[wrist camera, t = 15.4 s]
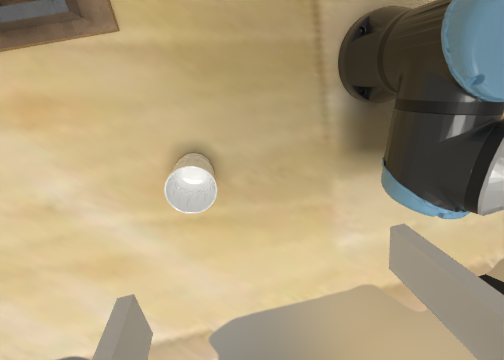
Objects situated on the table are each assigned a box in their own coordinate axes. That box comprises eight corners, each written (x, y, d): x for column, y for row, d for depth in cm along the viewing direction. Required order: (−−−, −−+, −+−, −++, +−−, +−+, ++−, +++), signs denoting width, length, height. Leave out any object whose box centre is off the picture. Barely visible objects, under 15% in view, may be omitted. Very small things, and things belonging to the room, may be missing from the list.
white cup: (164, 160, 47) (153, 180, 37) (203, 142, 46) (202, 157, 37) (185, 195, 50) (180, 221, 40) (222, 178, 50) (225, 200, 40)
